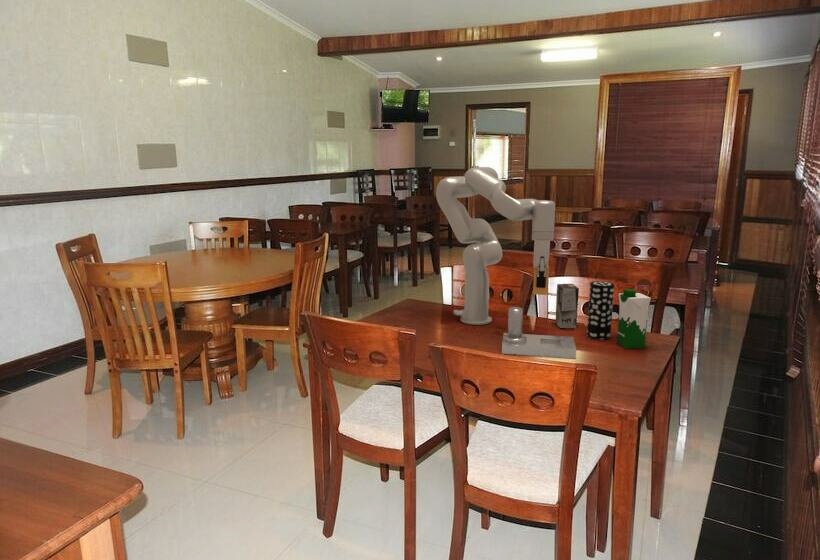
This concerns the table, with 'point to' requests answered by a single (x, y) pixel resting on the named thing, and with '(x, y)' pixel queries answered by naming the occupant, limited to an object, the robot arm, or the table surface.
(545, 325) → the table surface
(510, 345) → the grey base with post
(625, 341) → the milk carton
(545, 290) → the tan upright block
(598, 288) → the white-spotted black cylinder
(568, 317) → the coffee box
